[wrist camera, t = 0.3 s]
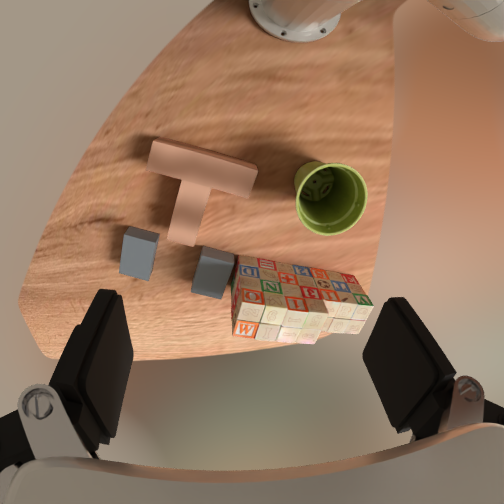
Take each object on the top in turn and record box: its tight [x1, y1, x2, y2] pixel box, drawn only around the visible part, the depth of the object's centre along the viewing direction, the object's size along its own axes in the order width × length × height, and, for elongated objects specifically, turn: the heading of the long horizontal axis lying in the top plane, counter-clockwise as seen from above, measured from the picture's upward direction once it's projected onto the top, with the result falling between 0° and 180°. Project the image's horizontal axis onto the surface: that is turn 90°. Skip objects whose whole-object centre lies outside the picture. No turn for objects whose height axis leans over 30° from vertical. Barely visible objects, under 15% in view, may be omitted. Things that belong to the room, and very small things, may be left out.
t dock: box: [119, 226, 234, 299], centre depth 46 cm, size 7×17×3 cm, turn 71°
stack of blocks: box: [231, 255, 373, 344], centre depth 46 cm, size 21×6×12 cm, turn 76°
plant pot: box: [294, 161, 367, 236], centre depth 39 cm, size 9×9×9 cm
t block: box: [146, 137, 258, 247], centre depth 40 cm, size 13×14×4 cm
